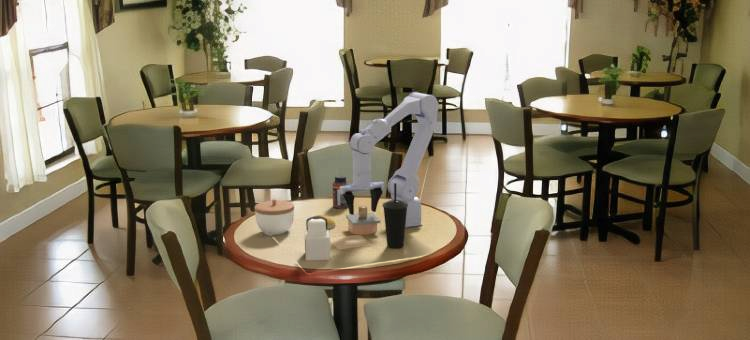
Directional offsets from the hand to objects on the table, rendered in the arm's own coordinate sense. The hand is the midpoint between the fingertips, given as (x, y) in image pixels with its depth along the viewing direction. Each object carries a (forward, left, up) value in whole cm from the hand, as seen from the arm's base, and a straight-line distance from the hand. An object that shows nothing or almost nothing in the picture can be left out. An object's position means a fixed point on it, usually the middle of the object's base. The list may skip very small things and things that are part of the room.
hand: (362, 212), depth 247 cm
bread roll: (+11, -10, -7) cm, 16 cm away
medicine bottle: (+21, +17, -7) cm, 28 cm away
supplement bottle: (-4, -31, -7) cm, 32 cm away
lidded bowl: (+26, -11, -7) cm, 29 cm away
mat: (+8, +9, -6) cm, 14 cm away
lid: (0, 0, -2) cm, 3 cm away
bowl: (0, 0, -6) cm, 6 cm away
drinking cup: (-3, +19, -7) cm, 20 cm away
